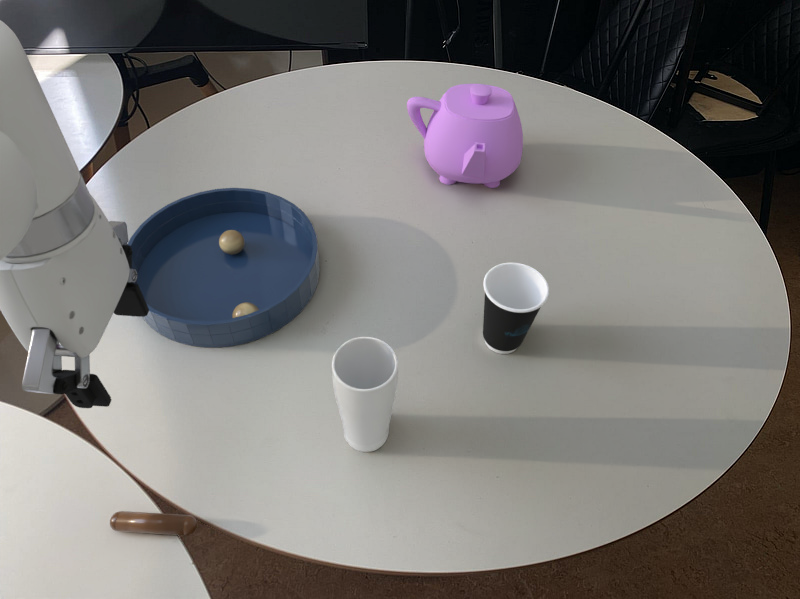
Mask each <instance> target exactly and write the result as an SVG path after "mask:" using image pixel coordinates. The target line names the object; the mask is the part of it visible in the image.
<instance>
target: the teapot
mask: <svg viewBox="0 0 800 599" xmlns="http://www.w3.org/2000/svg"><path fill="white" fill-rule="evenodd" d="M421 109H429V110H433V111H432V113H431V115H430V117H429V120H428V123H427V126H426V124H425V121H424V120H423V117H422V113H421ZM406 111H407V114H408V116H409V118H410V120H411V122H412V123H413V125H414V126H415V128H416V129H417V131H418V132H419V134H420V135H421V137H422V138H423V151H424V152H423V153H424V155H425V159H426V161H427V163H428V165H429V166H430V167H431V169H432V170H433V171H434V172H435V173H436V174H438V175H439V177H438V180H439V181H440V183H442V184H444V185H454V184H456V183H457V182H459V183H465V184H474V185H475V184H482V185H484V186H485V187H486V188H491V189H494V188H495V189H496V188H498V187H499V186H500V185H501V181H502V180H504V179H506V178H508V177H509V176H510V175H512V174H513V173H514V172H515V171H516V170H517V169H518V168H519V166H520V164H521V161H522V155H523V149H524V134H523V126H522V122H521V117H520V114H519V112H518V108H517V105H516V102H515V100H514V98H513V95H512V94H511V93H510V92H509V91H508V90H506V89H504V88H501V87H500V86H495V85H490V84H486V83H485V84H484V83H462V84H455V85H453V86H451V87H449V88H448V89H447V90H446V91H445V92H444V94H442V96H441V98H440V99H439V100H436V99H433V98H428V97H424V96H412V97H410V98H409V99H408V100H407V102H406Z"/></svg>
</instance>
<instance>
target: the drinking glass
mask: <svg viewBox="0 0 800 599" xmlns="http://www.w3.org/2000/svg"><path fill="white" fill-rule="evenodd" d="M331 381H332V388H333V394H334V398H335V402H336V406H337V409H338V412H339V417H340V421H341V425H342V430H343V431H342V432H343V437H344V440H345V442H346V443H347V444H348V446H349V447H351V448H352V449H353V450H355V451H357V452H360V453H361V452H362V453H370V452H371V453H372V452H374V451H377V450H379V449H381V447H382V446H384V444H385V443H386V441H387V440H388V438H389V434H390V424H391V419H392V415H393V411H394V406H395V401H396V398H397V397H396V396H397V391H398V384H399V360H398V356H397V353H396V352H395V350H394V349H393V347H392V346H391V345H390V344H388V343H387V342H386V341H384V340H383V339H381V338H377V337H375V336H374V337H373V336H357V337H353V338H350V339H348V340H346V341H345V342H343V343H342V344H340V346H338V348H337V349H336V350H335V352H334V354H333V356H332V359H331Z"/></svg>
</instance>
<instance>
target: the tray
mask: <svg viewBox="0 0 800 599" xmlns="http://www.w3.org/2000/svg"><path fill="white" fill-rule="evenodd" d="M227 230H236V231H238V232H239V233H241V234H242V236H243V237H244V241H245V244H244V248H243V249H242V251H241V252H239V253H237V254H234V255H230V254H227V253H225V252H224V251H223V250H222V249H221V248H220V245H219V239H220V236H221V235H222V234H223V233H224V232H225V231H227ZM128 241H129V242H127V245H130V246H131V248H132V251H133V254H132V269H135V270H136V271H137V280H136V282H135V283H134V284H138V286H139V288H140V290H141V292H142V295H143V297H144V299H145V302H146V304H147V306H148V308H149V312H148V314H147V316H145V317H141V318H142V320H144V322H145V323H146V324H147V325H148V326H149V327H150V328H151V329H153V330H154V331H155V332H157V333H158V335H160V336H163V337H165V338H167V339H169V340H171V341H174V342H176V343H178V344H179V343H180V344H182V345H186V346H191V347H199V348H227V347H234V346H239V345H245V344H248V343H251V342H254V341H257V340H260V339H262V338H265V337H267V336H269V335H271V334H273V333H275V332H276V331H279V330H281V329H282V328H283V327H285V326H286V325H288V324H289V323H291V322H292V321H293V320H294V319H295V318H297V316H298V315H299V314H301V313H302V311H303V310H304V309H305V308H306V307H307V305H308V304H309V302H310V301H311V299H312V298H313V297H314V294H315V292H316V289H317V287H318V284H319V279H320V271H321V270H320V269H321V268H320V267H321V266H320V257H319V256H320V255H319V245H318V236H317V233H316V230H315V228H314V225H313V223H312V222H311V220H310V219H309V217H308V215H307V214H306V213H305V212H304V211H303V210H302V209H300V208H299V207H298V206H297V205H296V204H294V203H293V202H291V201H289V200H288V199H286V198H284V197H282V196H280V195H278V194H274V193H271V192H268V191H264V190H260V189H255V188H248V187H247V188H246V187H245V188H244V187H242V188H241V187H225V188H224V187H223V188H213V189H209V190H203V191H199V192H195V193H193V194H189V195H186V196H184V197H180V198H179V199H177V200H174V201H172V202H169V203H168V204H166V205H164V206H163V207H161V208H159V209H158V210H156V211H155V212H154V213H153V214H151V215H150V216H148V218H146V219H145V220H144V221H143V222H142V223H141V224H140V225H139V226H138V228H137V229H136V230H135V231H134V233H133V234H132V235H131V237H130V238H129V239H128ZM245 302H248V303H252V304H254V305H256V306H257V307H258V309H259V310H257V311H255V312H252V313H250V314H248V315H244V316H239V317H235V318H232V315H233V311H234V309H235V308H236V307H237V306H238V305H239V304H241V303H245Z"/></svg>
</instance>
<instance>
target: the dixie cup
mask: <svg viewBox="0 0 800 599" xmlns="http://www.w3.org/2000/svg"><path fill="white" fill-rule="evenodd" d="M482 285H483V291H484V302H483V303H484V305H483V322H482V337H483V340H484V343H485V345H486V346H487V348H488V349H489V350H491V351H492V352H493V353H496V354H500V355H508V354H509V355H510V354H511V353H514V352H515V351H516V350H517V349H518V348H520V346H521V345H522V344H523V342H524V341H525V338H526V336H527V335H528V333H529V331H530V329H531V326H532V325H533V323H534V321H535V320H536V318H537V316H538V314H539V311H540V310H541V308H542V307H543V306H544V305H545V303H546V302H547V301H548V299H549V297H550V296H549V295H550V286H549V282H548V281H547V280H546V277H545V276H544V275H543V274H542V273H541V272H540V271H539V270H538V269H536V268H534V267H532V266H530V265H528V264H524V263H520V262H512V261H511V262H503V263H499V264H497V265H495V266H493V267H491V268H490V269H489V270H488V271H487V272H486V274H485V275H484V277H483V284H482Z"/></svg>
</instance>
